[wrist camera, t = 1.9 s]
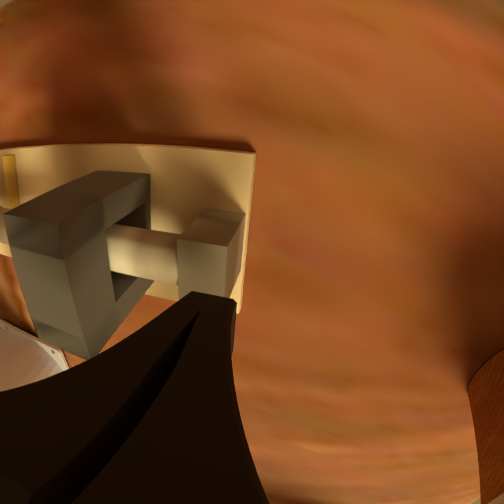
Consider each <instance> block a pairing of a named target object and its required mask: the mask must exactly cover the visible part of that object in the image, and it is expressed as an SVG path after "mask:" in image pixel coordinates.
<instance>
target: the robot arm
mask: <svg viewBox="0 0 504 504" xmlns="http://www.w3.org/2000/svg"><path fill="white" fill-rule="evenodd" d="M236 309H237V302H236V301H235V300H234V299H232V298H227V297H221V296H216V295H211V294H206V293H201V292H196V291H191V292H190V293H188V294H187V295H185V296H184V297H183V298H181V299H180V300H179V301H177V302H176V303H175V304H173V305H172V306H171V307H169V308H168V309H167V310H165V311H164V312H163V313H161V314H160V315H159V316H157V317H156V318H154V319H153V320H152V321H150V322H149V323H147V324H146V325H145V326H143V327H142V328H140V329H139V330H137V331H136V332H134V333H133V334H131V335H130V336H128V337H127V338H125V339H123V340H122V341H120V342H119V343H117V344H116V345H114V346H112V347H111V348H109V349H107V350H106V351H104V352H102V353H100V354H98V355H97V356H95V357H93V358H91V359H89V360H87V361H85V362H83V363H81V364H79V365H76V366H74V367H72V368H70V369H69V366H68V364H67V362H66V359H65V357H64V354H63V352H62V350H61V349H59V348H57V347H55V346H53V345H51V344H48V343H46V342H44V341H42V340H40V339H39V338H37V337H35V336H33V335H31V334H29V333H27V332H25V331H23V330H21V329H19V328H17V327H15V326H13V325H11V324H9V323H8V322H6V321H4V320H2V319H1V320H0V327H1V329H0V504H269V502H268V500H267V497H266V495H265V492H264V490H263V487H262V485H261V482H260V480H259V477H258V474H257V471H256V468H255V465H254V462H253V459H252V456H251V453H250V450H249V447H248V443H247V440H246V437H245V433H244V429H243V425H242V421H241V417H240V412H239V408H238V403H237V398H236V392H235V386H234V378H233V370H232V359H231V356H232V352H233V345H234V332H235V320H236Z"/></svg>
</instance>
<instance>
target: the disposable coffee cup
mask: <svg viewBox="0 0 504 504" xmlns="http://www.w3.org/2000/svg"><path fill="white" fill-rule="evenodd" d="M468 397H469V401H470V406H471V412H472V417H473V423H474V430H475V437H476V445H477V453H478V462H479V475H480V492H481V504H504V350H502V351H501V352H499V353H497V354H496V355H495V356H493V357H492V358H491V359H490V360H488V361H487V362H486V363H485V364H484V365H483V366H482V367H481V368H480V369H479V370H478V372H477V373H476V374H475V376H474V377H473V378H472V380H471V382H470V384H469V387H468Z"/></svg>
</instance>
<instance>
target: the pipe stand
mask: <svg viewBox="0 0 504 504" xmlns="http://www.w3.org/2000/svg"><path fill="white" fill-rule="evenodd" d="M255 162H256V153H255V152H247V151H238V150H228V149H217V148H205V147H192V146H177V145H157V144H118V143H95V144H58V145H39V146H25V147H13V148H3V149H0V254H3V255H6V256H9V257H12V255H11V251H10V247H9V242H8V238H7V233H6V228H5V223H4V218H3V214H4V213H6V212H8V211H10V210H11V209H13V208H15V207H17V206H19V205H21V204H23V203H25V202H27V201H29V200H31V199H33V198H35V197H37V196H40V195H42V194H44V193H46V192H48V191H50V190H52V189H55V188H57V187H59V186H61V185H64V184H66V183H68V182H71V181H73V180H75V179H78V178H80V177H82V176H85V175H87V174H90V173H92V172H95V171H97V170H100V171H118V172H133V173H147V174H150V207H151V230H150V229H143V228H137V227H130V226H124V225H117V224H113V225H112V226H110V227H109V228H107V229H106V230H105V231H106V240H107V249H108V257H109V264H110V271H114V272H119V273H123V274H127V275H132V276H136V277H141V278H146V279H150V280H154V282H153V284H152V285H151V286H150V287H149V289H148V290H147V291H146V292H145V294H147V295H151V296H156V297H160V298H164V299H169V300H173V301H179V300H180V299H181V298H183V297H184V296H185V295H187V294H188V293H190V292H191V291H196V292H201V293H206V294H211V295H216V296H221V297H227V298H232V299H234V300H235V301H236V302H237V309H236V313H238V314H239V312H240V309H241V303H242V293H243V282H244V272H245V262H246V252H247V241H248V231H249V221H250V211H251V201H252V191H253V181H254V171H255Z"/></svg>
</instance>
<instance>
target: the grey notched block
mask: <svg viewBox="0 0 504 504" xmlns="http://www.w3.org/2000/svg"><path fill="white" fill-rule="evenodd" d="M3 218H4V223H5V228H6V233H7V238H8V242H9V247H10V251H11V255H12V259H13V263H14V266H15V270H16V273H17V277H18V280H19V284H20V287H21V290H22V293H23V296H24V299H25V302H26V305H27V308H28V311H29V314H30V317H31V319H32V322H33V325H34V327H35V330H36V332H37V335H38V337H39V339H40V340H42V341H44V342H46V343H48V344H51V345H53V346H55V347H57V348H59V349H62V350H64V351H66V352H69V353H71V354H73V355H76V356H78V357H81V358H83V359H86V360H89V359H91V358H93V357H95V356H97V355H98V354H99V352H100V351H101V350H102V348H103V347H104V346H105V344H106V343H107V342H108V340H109V339H110V338H111V336H112V335H113V334H114V332H115V331H116V330H117V328H118V327H119V326H120V324H121V323H122V322H123V321H124V319H125V318H126V317H127V315H128V314H129V313H130V311H131V310H132V309H133V308H134V306H135V305H136V304H137V303H138V301H139V300H140V299H141V297H142V296H143V295H144V294H145V292H146V291H147V290H148V289H149V287H150V286H151V285H152V284H153V282H154V280H150V279H146V278H141V277H136V276H132V275H127V274H123V273H119V272H114V271H110V264H109V257H108V249H107V240H106V231H105V230H106V229H107V228H109V227H110V226H112V225H113V224H117V225H124V226H130V227H137V228H143V229H150V230H151V207H150V174H147V173H133V172H118V171H100V170H97V171H95V172H92V173H90V174H87V175H85V176H82V177H80V178H78V179H75V180H73V181H71V182H68V183H66V184H64V185H61V186H59V187H57V188H55V189H52V190H50V191H48V192H46V193H44V194H42V195H40V196H37V197H35V198H33V199H31V200H29V201H27V202H25V203H23V204H21V205H19V206H17V207H15V208H13V209H11V210H10V211H8V212H6V213H4V214H3Z"/></svg>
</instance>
